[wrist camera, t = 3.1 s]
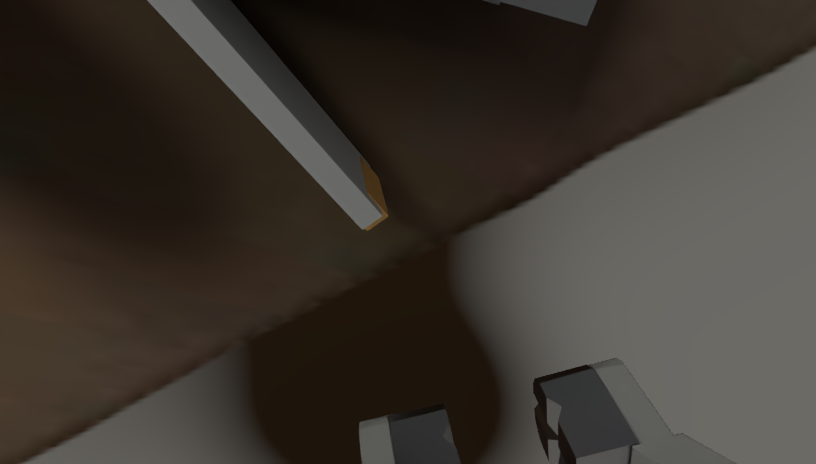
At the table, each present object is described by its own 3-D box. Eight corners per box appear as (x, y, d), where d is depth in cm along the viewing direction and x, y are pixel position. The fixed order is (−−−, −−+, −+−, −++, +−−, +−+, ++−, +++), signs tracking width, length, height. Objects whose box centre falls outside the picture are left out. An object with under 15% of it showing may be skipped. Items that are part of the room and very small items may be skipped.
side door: (148, -102, 18) (99, -103, 14) (376, 170, 25) (391, 226, 21) (125, -81, 19) (71, -76, 14) (358, 183, 26) (369, 241, 21)
